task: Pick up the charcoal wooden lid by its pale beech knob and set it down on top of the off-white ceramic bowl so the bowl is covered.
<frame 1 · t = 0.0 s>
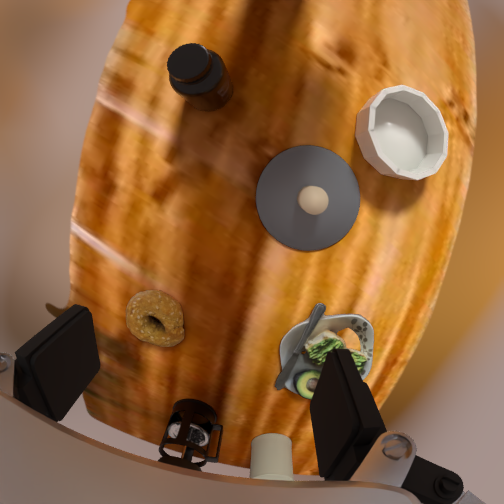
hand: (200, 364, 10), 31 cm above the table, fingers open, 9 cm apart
bowl: (395, 135, 35), on the table
lid: (308, 198, 39), on the table
bagel: (160, 315, 45), on the table
french press: (197, 413, 50), on the table
salad plate: (324, 356, 46), on the table
can: (271, 443, 52), on the table
supplement bottle: (210, 91, 35), on the table
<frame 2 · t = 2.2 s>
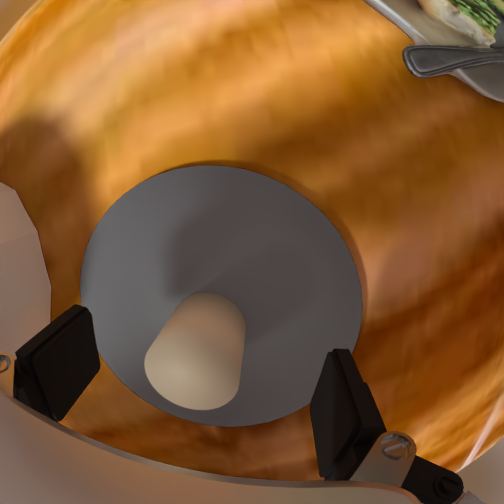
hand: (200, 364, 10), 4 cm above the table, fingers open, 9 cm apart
lid: (211, 319, 14), on the table
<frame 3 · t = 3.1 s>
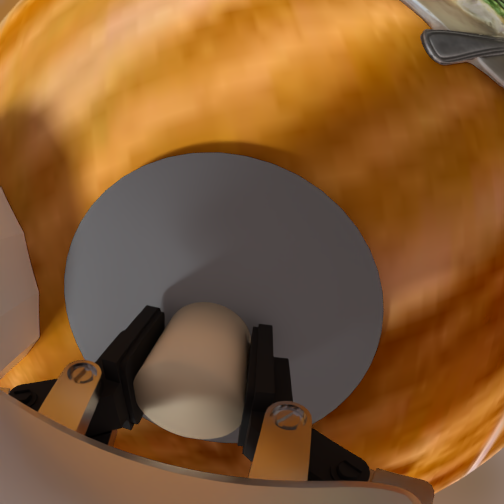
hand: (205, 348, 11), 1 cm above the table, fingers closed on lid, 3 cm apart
lid: (211, 330, 12), on the table, touching gripper
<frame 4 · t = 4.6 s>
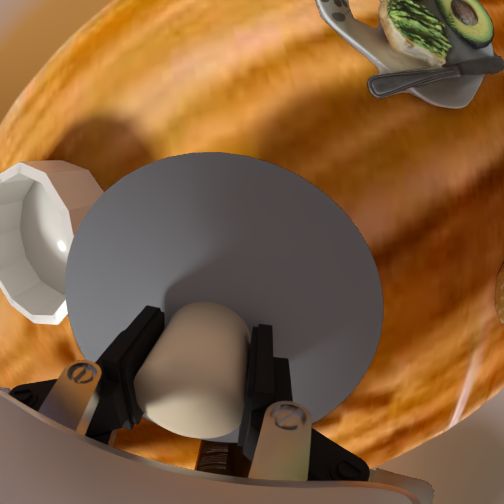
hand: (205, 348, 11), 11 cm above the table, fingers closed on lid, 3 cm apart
bowl: (61, 233, 21), on the table
lid: (211, 330, 12), point 9 cm above the table, touching gripper
salad plate: (416, 21, 15), on the table
supplement bottle: (233, 434, 27), on the table
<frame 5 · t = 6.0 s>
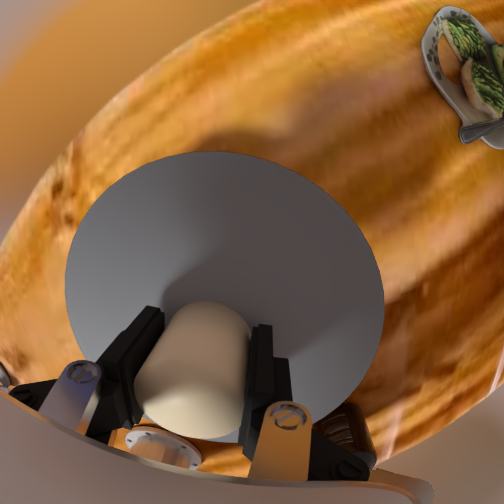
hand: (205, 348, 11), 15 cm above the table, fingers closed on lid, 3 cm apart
lid: (212, 330, 12), point 13 cm above the table, touching gripper
salad plate: (478, 75, 19), on the table
pocket watch: (4, 375, 35), on the table
supplement bottle: (336, 416, 31), on the table
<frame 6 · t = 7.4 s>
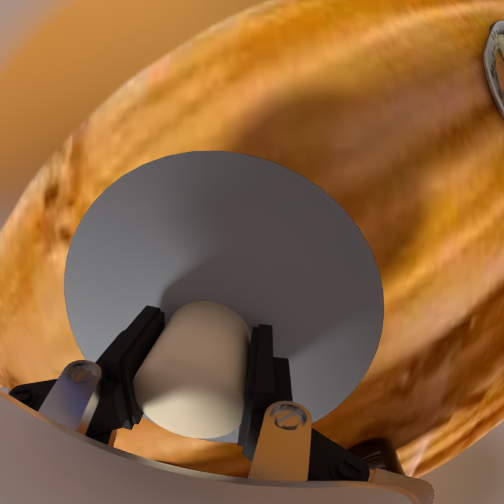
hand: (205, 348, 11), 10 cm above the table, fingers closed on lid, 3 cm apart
lid: (211, 329, 12), point 8 cm above the table, touching gripper
supplement bottle: (366, 451, 25), on the table
when the fingers open (8 cm above the table, at t = 7.9 s): lid drops 1 cm, resting on bowl.
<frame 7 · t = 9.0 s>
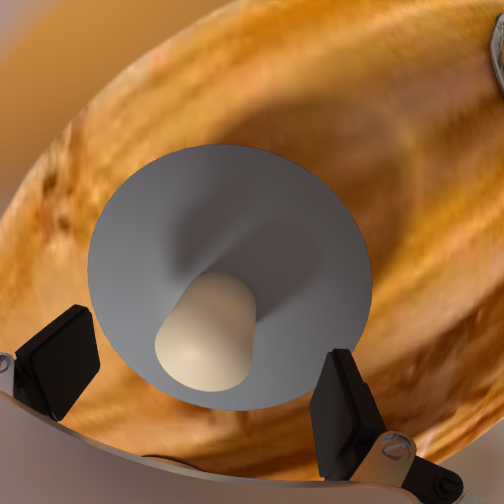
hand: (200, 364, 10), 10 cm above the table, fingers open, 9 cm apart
lid: (221, 299, 14), point 5 cm above the table, touching bowl
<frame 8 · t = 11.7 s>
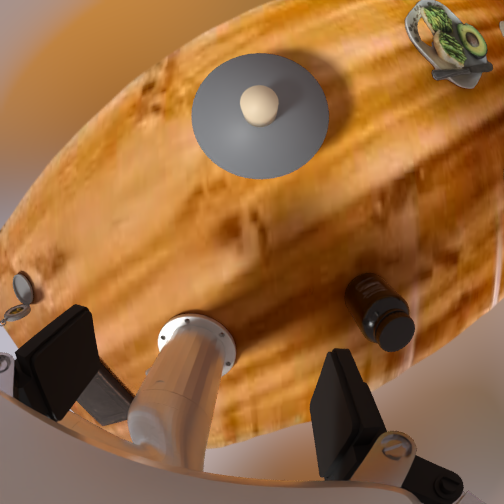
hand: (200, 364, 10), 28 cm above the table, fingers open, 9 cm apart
lid: (260, 113, 28), point 5 cm above the table, touching bowl
hardcover book: (89, 378, 47), on the table
salad plate: (447, 43, 27), on the table
pocket watch: (26, 293, 42), on the table
supplement bottle: (364, 293, 39), on the table
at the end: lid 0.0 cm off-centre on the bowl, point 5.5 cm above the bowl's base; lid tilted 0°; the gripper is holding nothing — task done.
